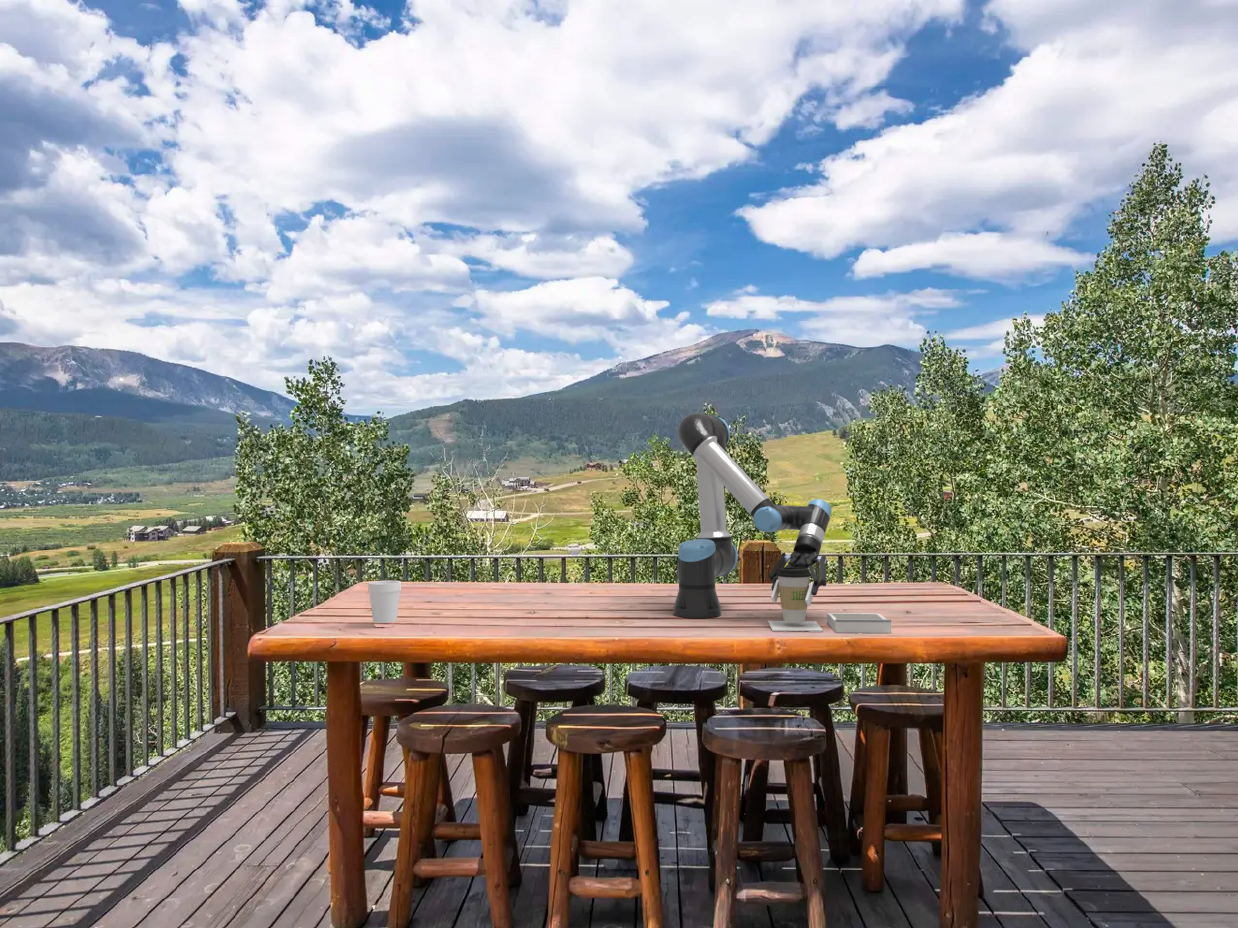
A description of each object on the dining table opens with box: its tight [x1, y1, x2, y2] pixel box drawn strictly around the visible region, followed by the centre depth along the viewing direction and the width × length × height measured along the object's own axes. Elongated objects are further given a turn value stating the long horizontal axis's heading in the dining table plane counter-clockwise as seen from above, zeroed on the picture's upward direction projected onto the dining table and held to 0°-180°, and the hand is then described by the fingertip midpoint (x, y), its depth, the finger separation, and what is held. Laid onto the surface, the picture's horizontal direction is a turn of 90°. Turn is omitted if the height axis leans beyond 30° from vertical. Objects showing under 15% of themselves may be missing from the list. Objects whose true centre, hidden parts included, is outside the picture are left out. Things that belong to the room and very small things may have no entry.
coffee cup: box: [777, 566, 812, 623], centre depth 235 cm, size 10×10×15 cm
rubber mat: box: [767, 620, 824, 633], centre depth 235 cm, size 14×14×1 cm
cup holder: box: [826, 612, 892, 634], centre depth 233 cm, size 15×15×4 cm
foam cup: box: [367, 579, 402, 623], centre depth 242 cm, size 10×9×13 cm
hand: (790, 601), depth 232 cm, fingers closed on coffee cup, 10 cm apart
